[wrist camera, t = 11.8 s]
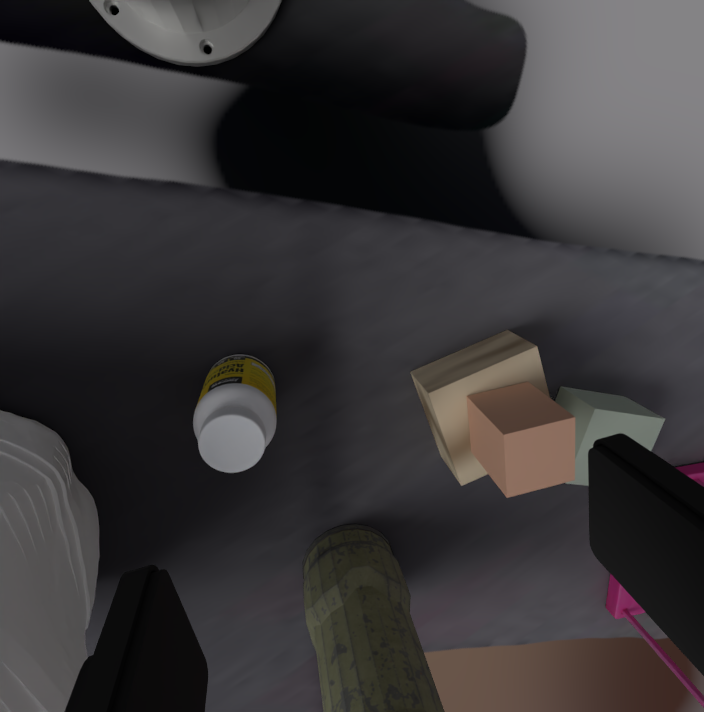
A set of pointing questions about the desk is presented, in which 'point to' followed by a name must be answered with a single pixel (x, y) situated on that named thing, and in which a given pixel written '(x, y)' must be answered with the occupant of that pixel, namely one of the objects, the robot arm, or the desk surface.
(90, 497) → the white rounded piece
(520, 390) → the terracotta block
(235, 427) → the supplement bottle
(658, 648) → the file sorter
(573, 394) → the sage block
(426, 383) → the maple block
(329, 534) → the thermos
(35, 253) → the desk surface
